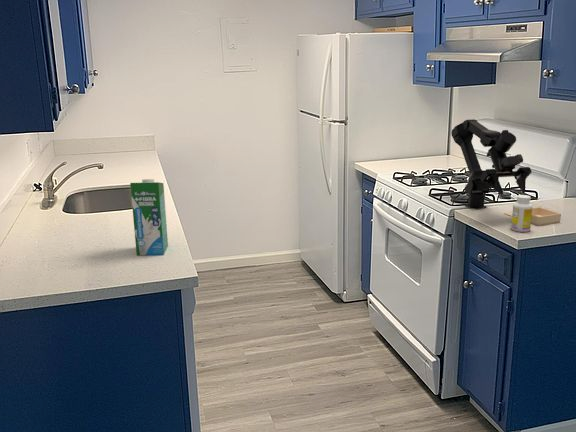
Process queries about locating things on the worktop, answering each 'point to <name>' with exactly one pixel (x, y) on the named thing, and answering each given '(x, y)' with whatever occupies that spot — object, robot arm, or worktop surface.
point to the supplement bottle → (521, 214)
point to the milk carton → (149, 217)
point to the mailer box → (542, 216)
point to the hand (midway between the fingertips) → (513, 193)
